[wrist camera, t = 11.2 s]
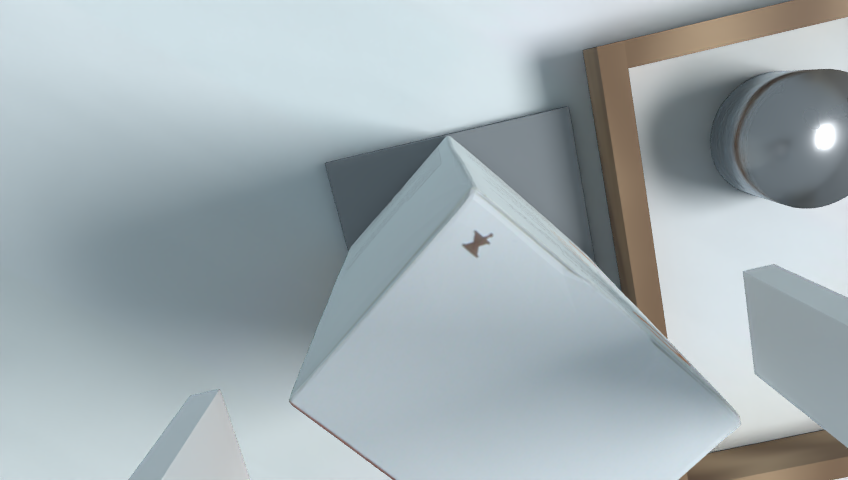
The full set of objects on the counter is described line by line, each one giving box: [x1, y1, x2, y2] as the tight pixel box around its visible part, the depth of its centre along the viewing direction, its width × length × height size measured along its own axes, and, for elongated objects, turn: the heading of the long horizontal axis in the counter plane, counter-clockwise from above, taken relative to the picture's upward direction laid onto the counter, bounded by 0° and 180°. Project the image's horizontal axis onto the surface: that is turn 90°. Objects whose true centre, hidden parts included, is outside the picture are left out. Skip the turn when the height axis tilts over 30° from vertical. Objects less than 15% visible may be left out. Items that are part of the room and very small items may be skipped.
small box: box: [289, 136, 741, 480], centre depth 19 cm, size 8×6×13 cm
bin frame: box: [583, 0, 848, 480], centre depth 25 cm, size 14×20×2 cm
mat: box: [325, 107, 595, 263], centre depth 26 cm, size 10×10×1 cm
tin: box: [710, 69, 848, 208], centre depth 24 cm, size 5×5×3 cm
